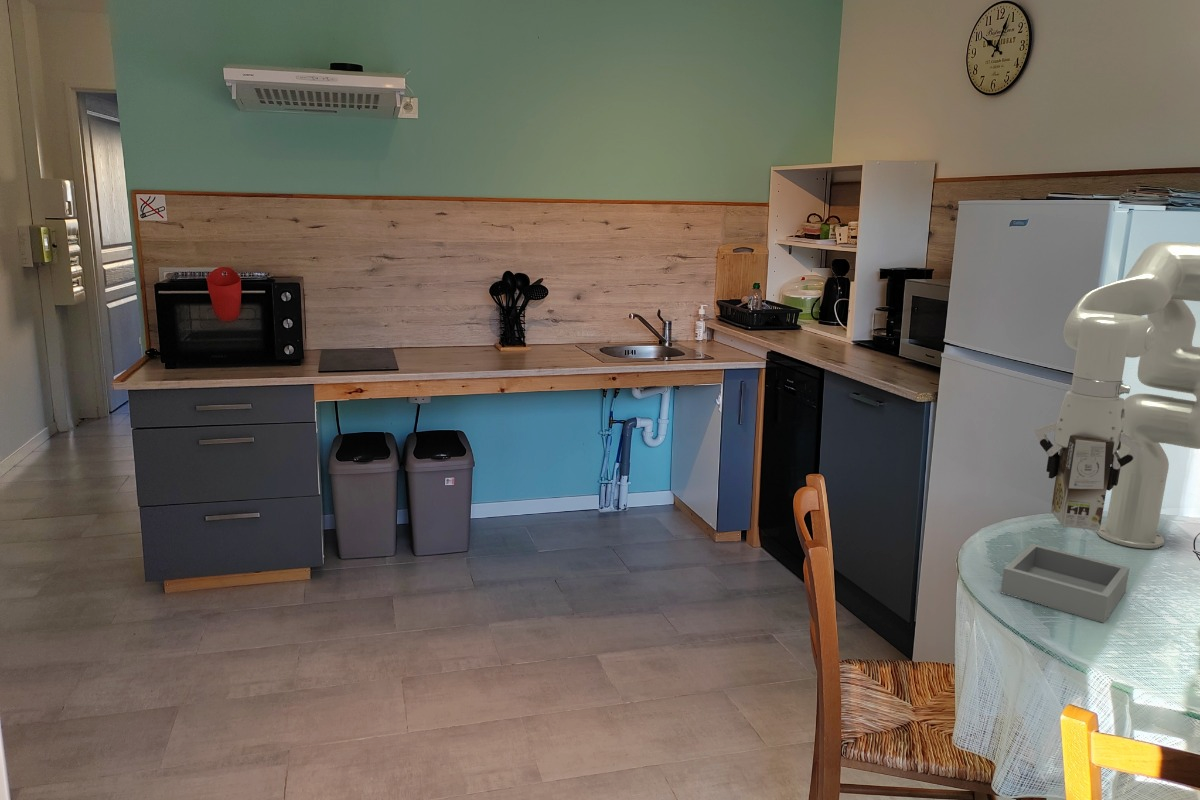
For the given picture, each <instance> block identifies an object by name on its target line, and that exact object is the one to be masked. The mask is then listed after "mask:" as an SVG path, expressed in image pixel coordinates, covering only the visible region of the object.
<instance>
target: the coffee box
mask: <svg viewBox="0 0 1200 800" xmlns="http://www.w3.org/2000/svg"><path fill="white" fill-rule="evenodd" d="M1114 444H1115V442H1112V441H1107V440H1102V439H1096V438H1088V437H1079V436H1073V435H1070V438H1069V442H1068V447H1067V448H1062V449H1061V450H1060V451H1058V452H1059V453H1058V454H1059V456H1060V460H1059V467H1058V473H1057V476H1055V481H1054V487H1053V495H1052V503H1051V509H1050V511H1051V514H1053V516H1054V517H1055V518H1056V520H1057V521H1058V522H1059V523H1060V525H1061V526H1062V527H1063V528H1064V527H1065V528H1071V529H1082V530H1089V531H1090V530H1091V531H1096V532H1097V531H1099V530H1100V526H1101V524H1102V520H1103V513H1104V507H1105V501H1106V494H1107V491H1108V490H1107V484H1108V478H1109V472H1110V467H1111V460H1112V454H1113V448H1114Z"/></svg>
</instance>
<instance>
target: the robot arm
mask: <svg viewBox="0 0 1200 800" xmlns="http://www.w3.org/2000/svg"><path fill="white" fill-rule="evenodd" d="M1185 301H1188V302H1189V301H1192V302H1200V242H1195V243H1194V242H1178V241H1161V242H1156V243H1153V244H1151V245H1149V246H1148V247H1146V248H1145V249H1144V250H1143V251H1142V253H1141V254H1140V255H1139V256H1138V258H1137V260H1136V262H1134V264H1133V266H1132V267H1131V268H1130V270H1129V272H1128V273H1127V274H1126V275H1125V277H1124V278H1121V279H1119V280H1115V281H1113V282H1110V283H1107V284H1105V285H1101V286H1099V287H1097V288H1094V289H1093V290H1091V291H1088V292H1087V293H1086V294H1084V295H1083V296H1082V297H1081V298H1080V299H1079V300H1078V302H1076V304H1075V306H1074V307H1073V308H1072V310H1071V311H1070V313H1069V314H1068V317H1067V319H1066V321H1065V323H1064V327H1063V333H1062V334H1063V339H1064V342H1065V344H1066V345H1067V347H1069V348H1070V349H1073V350H1075V351H1076V353H1075V361H1074V367H1073V373H1072V380H1071V388H1070V390H1067V391H1066V393H1065V394H1064V398H1063V401H1062V404H1061V407H1060V411H1059V415H1058V417H1057V421H1055V422H1054V423H1049V424H1047V425H1044V426H1041V427H1038V428H1036V429H1035V430H1034V432H1035V434H1036V437H1037V440H1038V441H1039V444H1040V446H1041V447H1042V449H1043V450H1044V451H1045V452H1046V456H1048V459H1047V462H1046V463H1047V464H1046V472H1047V473H1048V479H1055V478H1056V476H1057V473H1058V467H1059V460H1060V456H1059V451H1060V450H1061V449H1062V448H1067V447H1068V442H1069V438H1070V435H1073V436H1079V437H1088V438H1096V439H1102V440H1107V441H1112V442H1115V444H1114V448H1113V454H1112V460H1111V466H1110V472H1109V478H1108V484H1107V490H1106V491H1111V492H1110V493H1111V494H1110V499H1109V505H1108V511H1107V516H1106V523H1101V526H1100V530H1099V531H1096V533H1097V535H1098V536H1099V537H1100V538H1102V539H1104V540H1106V541H1108V542H1111V543H1113V544H1117V545H1121V546H1125V547H1128V548H1136V549H1143V550H1144V549H1146V550H1147V549H1149V550H1152V549H1159V548H1161V547H1160V546H1162V545H1163V546H1164V543H1165V538H1164V537H1163V536H1162V535H1161V534H1159V533H1158V528H1159V522H1160V516H1161V512H1162V508H1163V507H1162V506H1163V500H1164V496H1165V490H1166V484H1167V478H1168V474H1169V466H1170V463H1169V458H1168V456H1167V454H1166V452H1165V450H1164V449H1163V447H1162V445H1161V444H1167V445H1173V446H1179V447H1184V448H1190V449H1194V450H1195V449H1196V450H1200V346H1193V340H1194V335H1195V331H1196V326H1197V324H1196V323H1197V321H1196V318H1195V315H1194V314H1193V312H1192V311H1191V309H1190V307H1189V305H1188V304H1187V303H1186V302H1185ZM1145 316H1147V317H1145ZM1126 358H1132V359H1133V358H1139V359H1138V366H1137V378H1138V381H1139V382H1140V384H1142V385H1144V386H1146V387H1150V388H1154V389H1158V390H1163V391H1172V392H1178V393H1179V392H1180V393H1185V394H1192V395H1194V396H1195V398H1196V400H1191V399H1190V400H1189V399H1183V398H1176V397H1173V396H1166V395H1165V396H1164V395H1159V394H1153V393H1152V394H1151V393H1136V394H1132V395H1129V394H1130V392H1131V386H1130V385H1127V384H1124V381H1123V376H1124V375H1123V374H1124V369H1125V364H1126V363H1125V362H1126ZM1124 394H1126V395H1127V394H1128V396H1127V397H1126V398H1123V397H1121V395H1124ZM1053 431H1054V441H1053V442H1054V444H1053V443H1052V442H1051V440H1049V439H1048V435H1047V434H1048V433H1051V432H1053ZM1163 546H1162V547H1163ZM1158 547H1159V548H1158Z"/></svg>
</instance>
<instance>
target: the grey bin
mask: <svg viewBox="0 0 1200 800" xmlns="http://www.w3.org/2000/svg"><path fill="white" fill-rule="evenodd" d="M1129 574H1130V567H1126V566H1122V565H1118V564H1114V563H1111V562H1106V561H1103V560H1098V559H1095V558H1090V557H1087V556H1083V555H1079V554H1075V553H1071V552H1067V551H1064V550H1063V551H1062V550H1059V549H1055V548H1052V547H1051V548H1050V547H1048V546H1044V545H1043V546H1042V545H1039V544H1035V543H1030V545H1028V546H1027V547H1026V548H1025V549H1024V550H1022V551H1021V552H1020V553H1019V554H1018V555H1017V556H1015V558H1014V559H1013V560H1012V561H1010V562H1009V563H1008V564H1007V565H1006V566H1005V567H1004V568H1003V574H1002V579H1001V588H1000V593H1001V592H1003V593H1005V594H1004V595H1006V594H1010V595H1013V596H1017V597H1020V598H1023V599H1026V600H1029V601H1028V602H1030V601H1032V602H1031V603H1033V602H1035V603H1034V604H1037V603H1038V605H1040V604H1041V605H1040V606H1044V607H1047V606H1048V607H1047V608H1051V609H1054V610H1058V611H1062V612H1064V613H1069V614H1072V615H1075V616H1078V617H1082V618H1086V619H1088V620H1092V621H1096V622H1099V623H1102V624H1104V623H1105V622H1106V621H1107V619H1108V618H1109V616H1111V613H1112V612H1113V611H1114V609H1115V608H1116V606H1117V605H1118V604H1119V602H1120V601H1121V599H1122V598H1123V596H1124V595H1125V594H1126V591H1127V585H1128V580H1129V579H1128V578H1129ZM1013 596H1012V597H1013ZM1020 598H1019V599H1020ZM1023 599H1022V600H1023ZM1026 600H1025V601H1026Z"/></svg>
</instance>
